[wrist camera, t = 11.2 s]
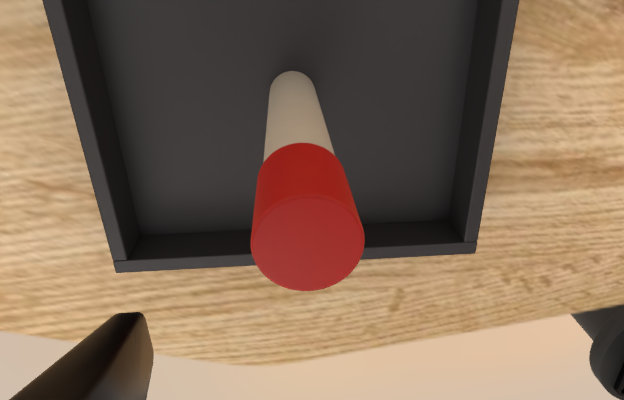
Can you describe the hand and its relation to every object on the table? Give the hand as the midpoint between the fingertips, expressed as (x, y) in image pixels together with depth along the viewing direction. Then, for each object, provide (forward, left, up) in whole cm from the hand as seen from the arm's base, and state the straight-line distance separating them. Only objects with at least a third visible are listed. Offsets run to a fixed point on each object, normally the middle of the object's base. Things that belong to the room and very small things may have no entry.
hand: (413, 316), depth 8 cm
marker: (+1, +2, -12) cm, 12 cm away
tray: (+1, +2, -12) cm, 13 cm away
